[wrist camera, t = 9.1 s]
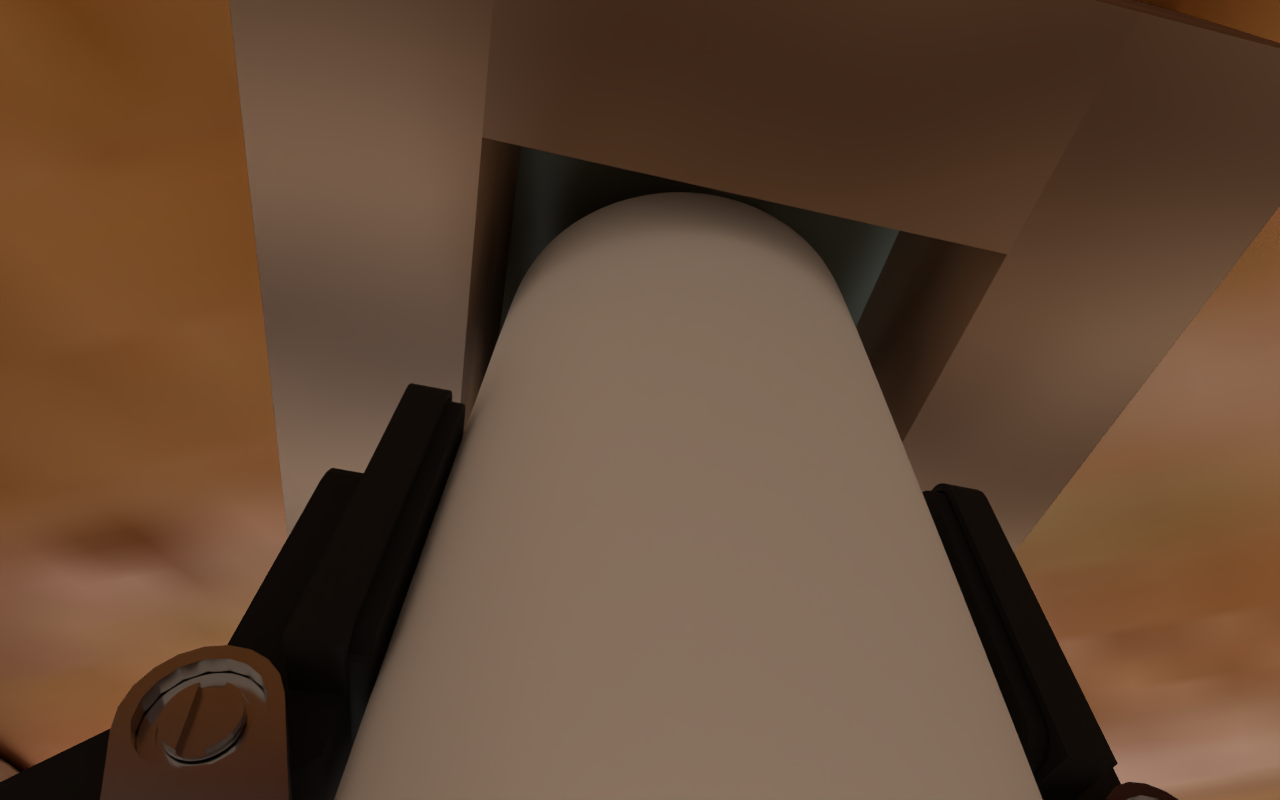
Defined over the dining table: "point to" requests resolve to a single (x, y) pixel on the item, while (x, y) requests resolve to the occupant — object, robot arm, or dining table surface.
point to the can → (683, 550)
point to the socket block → (760, 194)
